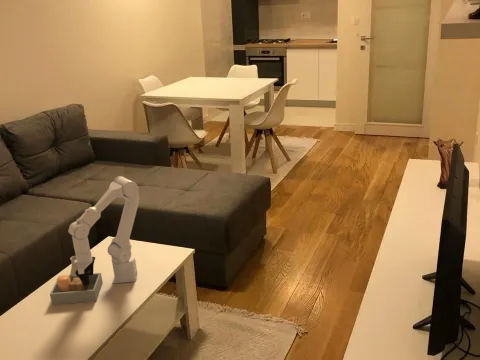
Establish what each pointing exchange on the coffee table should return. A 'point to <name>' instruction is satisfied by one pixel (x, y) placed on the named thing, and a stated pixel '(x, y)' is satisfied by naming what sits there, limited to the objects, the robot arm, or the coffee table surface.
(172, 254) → the coffee table surface
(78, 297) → the slate tote
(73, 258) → the flask
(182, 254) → the coffee table surface
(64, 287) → the terracotta cylinder
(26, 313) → the coffee table surface
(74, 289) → the walnut cube
